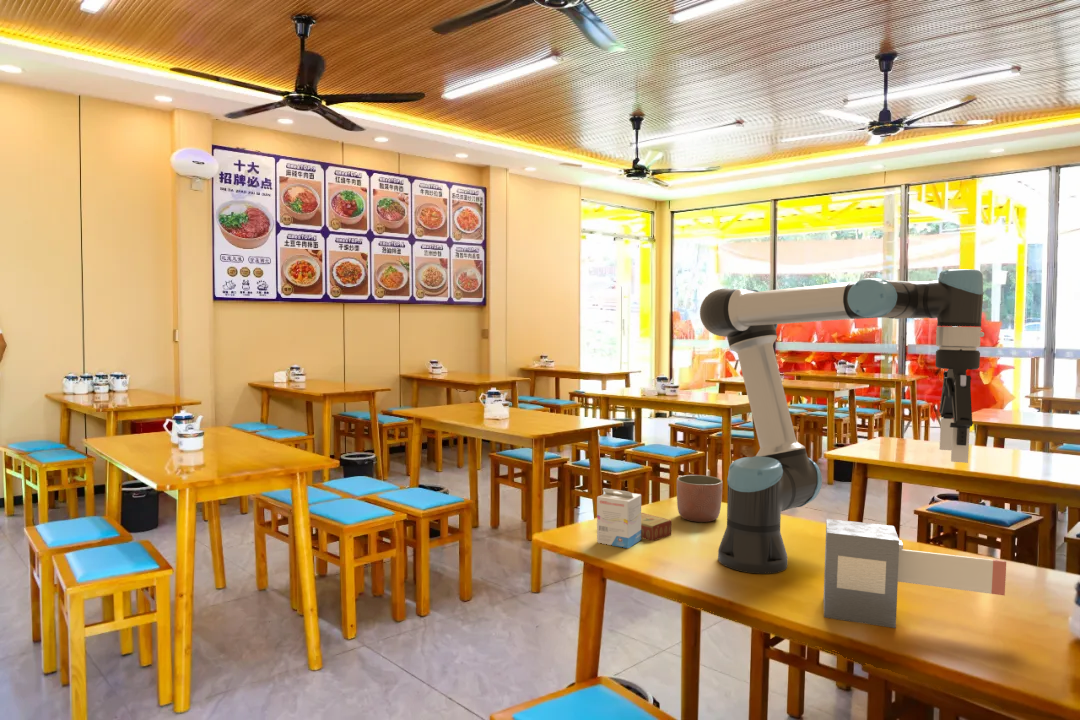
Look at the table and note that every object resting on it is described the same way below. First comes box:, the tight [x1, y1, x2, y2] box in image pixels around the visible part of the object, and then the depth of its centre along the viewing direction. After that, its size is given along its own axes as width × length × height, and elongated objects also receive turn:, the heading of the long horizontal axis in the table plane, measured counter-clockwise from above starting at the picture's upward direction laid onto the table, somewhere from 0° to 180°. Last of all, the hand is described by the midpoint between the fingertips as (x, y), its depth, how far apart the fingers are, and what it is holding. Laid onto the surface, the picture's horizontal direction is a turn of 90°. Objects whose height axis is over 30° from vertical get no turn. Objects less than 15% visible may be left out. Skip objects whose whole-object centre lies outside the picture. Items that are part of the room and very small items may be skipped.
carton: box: [641, 512, 673, 542], centre depth 186 cm, size 8×16×4 cm, turn 43°
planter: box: [676, 474, 724, 523], centre depth 198 cm, size 12×12×11 cm
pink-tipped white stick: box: [898, 548, 1007, 597], centre depth 129 cm, size 18×1×6 cm, turn 69°
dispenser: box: [823, 518, 904, 629], centre depth 134 cm, size 13×10×16 cm
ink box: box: [596, 487, 642, 549], centre depth 176 cm, size 9×8×13 cm
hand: (953, 455), depth 141 cm, fingers open, 13 cm apart
